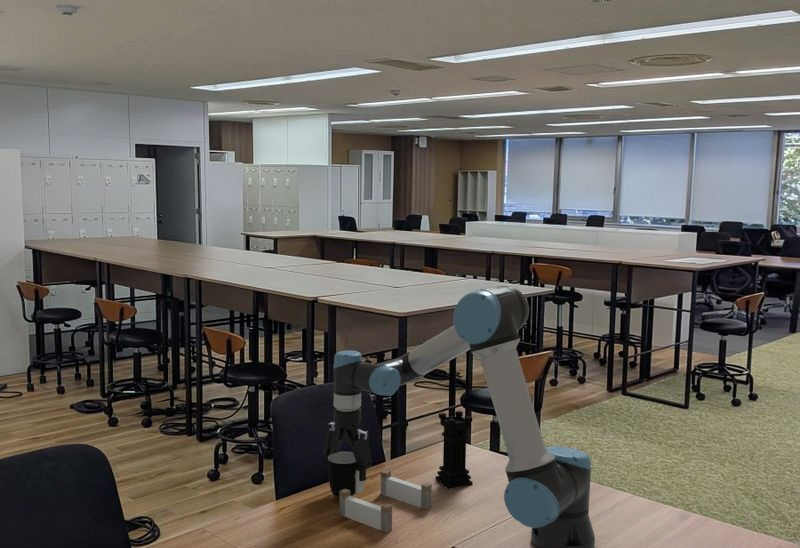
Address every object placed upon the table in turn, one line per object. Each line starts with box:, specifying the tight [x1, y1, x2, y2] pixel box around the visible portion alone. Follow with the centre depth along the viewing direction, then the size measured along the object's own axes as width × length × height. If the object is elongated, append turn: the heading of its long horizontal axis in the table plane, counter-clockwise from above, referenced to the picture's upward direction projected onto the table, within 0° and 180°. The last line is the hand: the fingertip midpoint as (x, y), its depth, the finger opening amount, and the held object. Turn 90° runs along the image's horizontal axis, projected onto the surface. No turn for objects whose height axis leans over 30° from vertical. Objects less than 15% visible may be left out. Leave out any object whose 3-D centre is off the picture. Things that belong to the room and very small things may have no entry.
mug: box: [327, 451, 358, 498], centre depth 198 cm, size 12×9×10 cm
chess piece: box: [434, 410, 474, 490], centre depth 209 cm, size 8×8×20 cm
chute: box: [338, 469, 433, 533], centre depth 190 cm, size 16×19×6 cm
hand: (346, 486), depth 198 cm, fingers closed on mug, 9 cm apart
